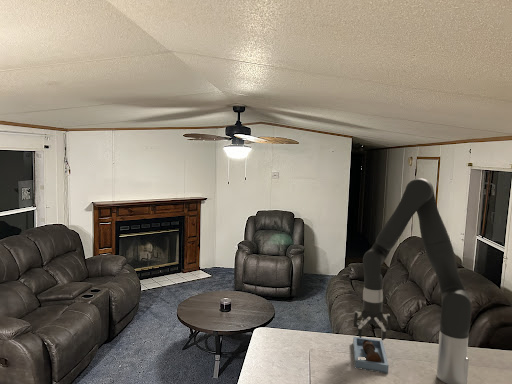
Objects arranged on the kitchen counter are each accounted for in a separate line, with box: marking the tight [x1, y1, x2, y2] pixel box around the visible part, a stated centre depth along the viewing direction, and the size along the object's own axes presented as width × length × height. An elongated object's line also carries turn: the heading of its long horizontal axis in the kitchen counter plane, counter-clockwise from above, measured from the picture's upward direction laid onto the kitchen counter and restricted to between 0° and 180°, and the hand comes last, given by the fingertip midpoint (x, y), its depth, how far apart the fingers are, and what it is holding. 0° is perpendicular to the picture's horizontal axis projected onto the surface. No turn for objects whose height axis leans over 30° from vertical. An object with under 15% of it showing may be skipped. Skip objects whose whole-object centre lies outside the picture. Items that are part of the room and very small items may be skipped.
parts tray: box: [352, 336, 390, 374], centre depth 150 cm, size 12×21×3 cm, turn 167°
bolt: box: [363, 340, 382, 363], centre depth 149 cm, size 6×5×15 cm
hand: (371, 338), depth 150 cm, fingers open, 8 cm apart
